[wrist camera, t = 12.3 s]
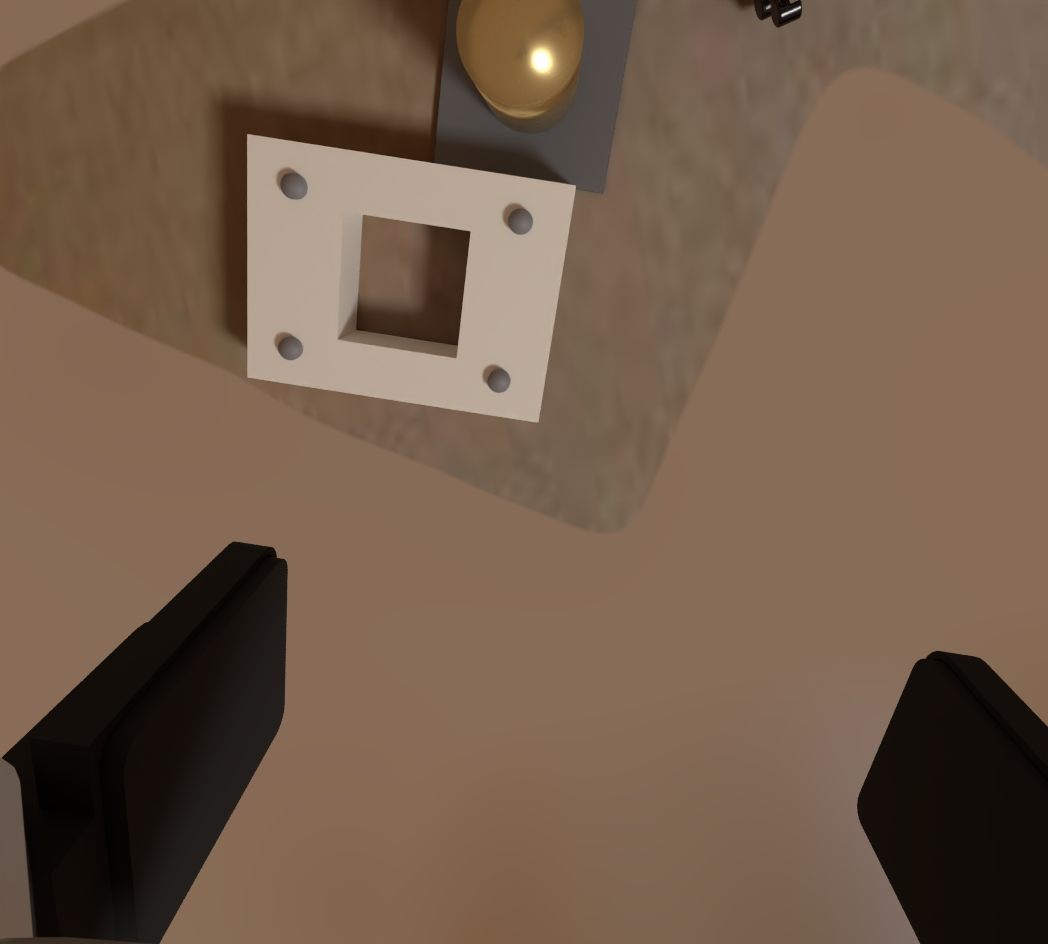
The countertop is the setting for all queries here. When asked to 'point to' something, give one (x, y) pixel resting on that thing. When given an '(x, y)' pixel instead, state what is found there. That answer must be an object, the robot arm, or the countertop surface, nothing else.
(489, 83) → the brass domed cylinder
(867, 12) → the countertop surface
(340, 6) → the countertop surface
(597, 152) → the mat
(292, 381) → the plate
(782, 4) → the valve
